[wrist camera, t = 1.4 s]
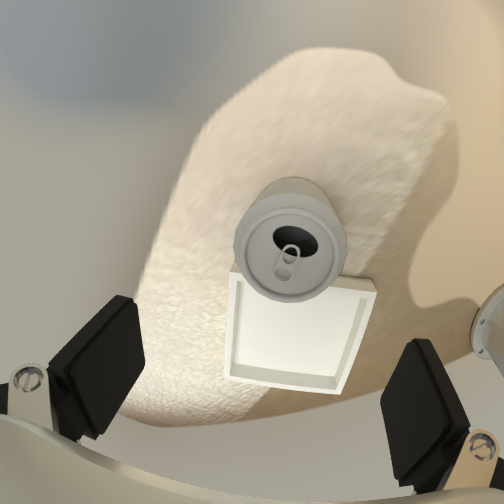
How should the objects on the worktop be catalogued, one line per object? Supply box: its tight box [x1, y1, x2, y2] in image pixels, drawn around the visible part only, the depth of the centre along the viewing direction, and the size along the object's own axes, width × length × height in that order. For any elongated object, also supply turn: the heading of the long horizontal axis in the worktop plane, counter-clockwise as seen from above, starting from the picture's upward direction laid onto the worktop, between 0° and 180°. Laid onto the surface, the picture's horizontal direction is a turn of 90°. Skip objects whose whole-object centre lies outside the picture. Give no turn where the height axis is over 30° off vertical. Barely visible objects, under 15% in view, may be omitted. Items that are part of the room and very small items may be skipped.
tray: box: [223, 260, 377, 394], centre depth 32 cm, size 15×15×3 cm
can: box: [233, 177, 347, 303], centre depth 23 cm, size 8×8×12 cm
